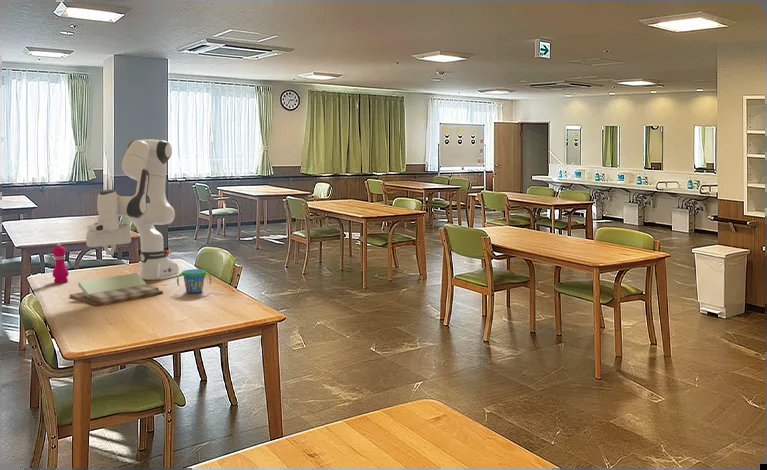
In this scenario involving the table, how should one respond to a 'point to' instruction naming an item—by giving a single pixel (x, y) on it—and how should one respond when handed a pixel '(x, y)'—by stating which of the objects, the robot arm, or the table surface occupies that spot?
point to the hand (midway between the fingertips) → (109, 254)
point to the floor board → (85, 299)
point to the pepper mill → (60, 265)
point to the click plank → (111, 283)
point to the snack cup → (194, 280)
